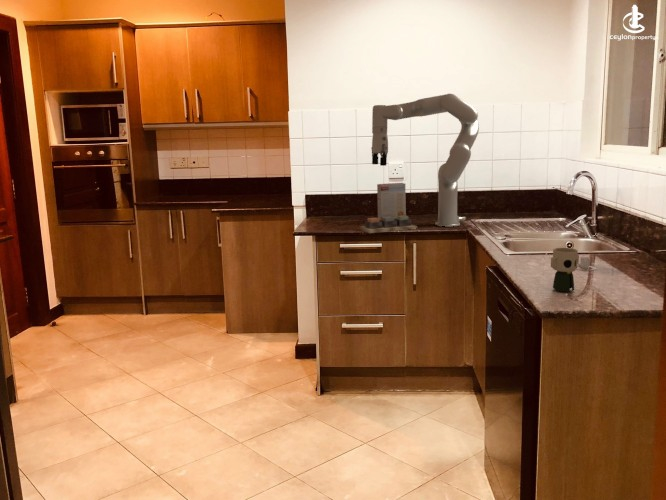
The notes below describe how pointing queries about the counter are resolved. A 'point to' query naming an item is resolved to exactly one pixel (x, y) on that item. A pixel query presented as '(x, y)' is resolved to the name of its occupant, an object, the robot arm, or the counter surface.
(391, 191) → the cracker box
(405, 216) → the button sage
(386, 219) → the button slate
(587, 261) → the teacup and saucer
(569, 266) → the beige and green figure
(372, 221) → the button terracotta
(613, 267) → the counter surface
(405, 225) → the button board
